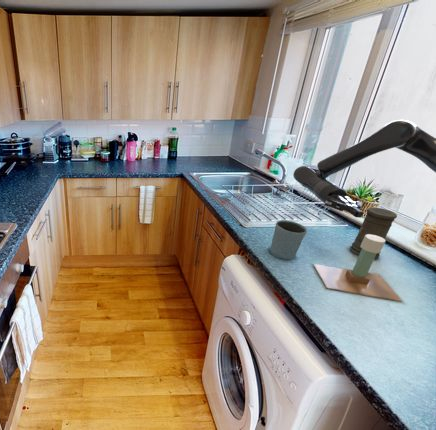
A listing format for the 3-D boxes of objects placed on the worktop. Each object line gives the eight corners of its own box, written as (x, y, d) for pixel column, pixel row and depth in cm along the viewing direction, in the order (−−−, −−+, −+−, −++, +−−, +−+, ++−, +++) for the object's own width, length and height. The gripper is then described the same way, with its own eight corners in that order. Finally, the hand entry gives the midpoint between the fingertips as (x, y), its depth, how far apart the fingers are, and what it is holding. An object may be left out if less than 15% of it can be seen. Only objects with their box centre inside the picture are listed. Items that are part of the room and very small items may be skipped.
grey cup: (270, 244, 117) (278, 218, 112) (298, 252, 112) (308, 225, 107) (266, 255, 110) (274, 227, 105) (296, 264, 105) (306, 235, 100)
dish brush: (361, 276, 98) (380, 235, 91) (368, 285, 93) (389, 243, 87) (344, 273, 99) (362, 233, 92) (350, 282, 95) (369, 240, 88)
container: (381, 254, 112) (402, 213, 104) (373, 262, 107) (394, 218, 99) (354, 245, 118) (371, 204, 111) (345, 251, 114) (362, 209, 106)
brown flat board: (378, 275, 99) (378, 274, 99) (401, 302, 87) (402, 300, 87) (313, 265, 104) (313, 263, 104) (326, 288, 92) (327, 287, 92)
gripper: (315, 182, 109) (345, 203, 94) (350, 185, 109) (385, 206, 93) (307, 200, 112) (335, 223, 97) (341, 202, 112) (374, 226, 97)
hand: (360, 215), depth 95 cm, fingers closed
